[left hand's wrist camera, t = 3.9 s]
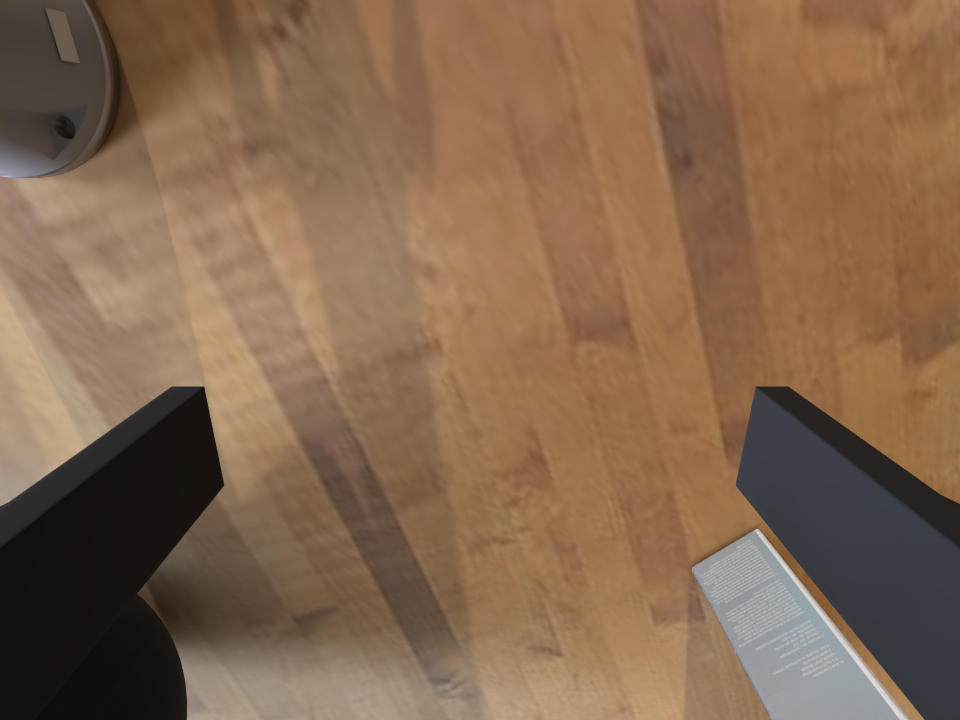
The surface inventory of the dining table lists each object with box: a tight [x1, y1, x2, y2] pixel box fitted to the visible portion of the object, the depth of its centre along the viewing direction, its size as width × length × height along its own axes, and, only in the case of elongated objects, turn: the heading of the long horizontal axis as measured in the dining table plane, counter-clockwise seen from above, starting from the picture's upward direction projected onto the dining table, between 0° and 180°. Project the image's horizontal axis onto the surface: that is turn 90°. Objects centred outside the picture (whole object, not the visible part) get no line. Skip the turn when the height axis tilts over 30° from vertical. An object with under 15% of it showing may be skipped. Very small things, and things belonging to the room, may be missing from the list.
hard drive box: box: [692, 529, 910, 720], centre depth 41 cm, size 16×8×20 cm, turn 40°
